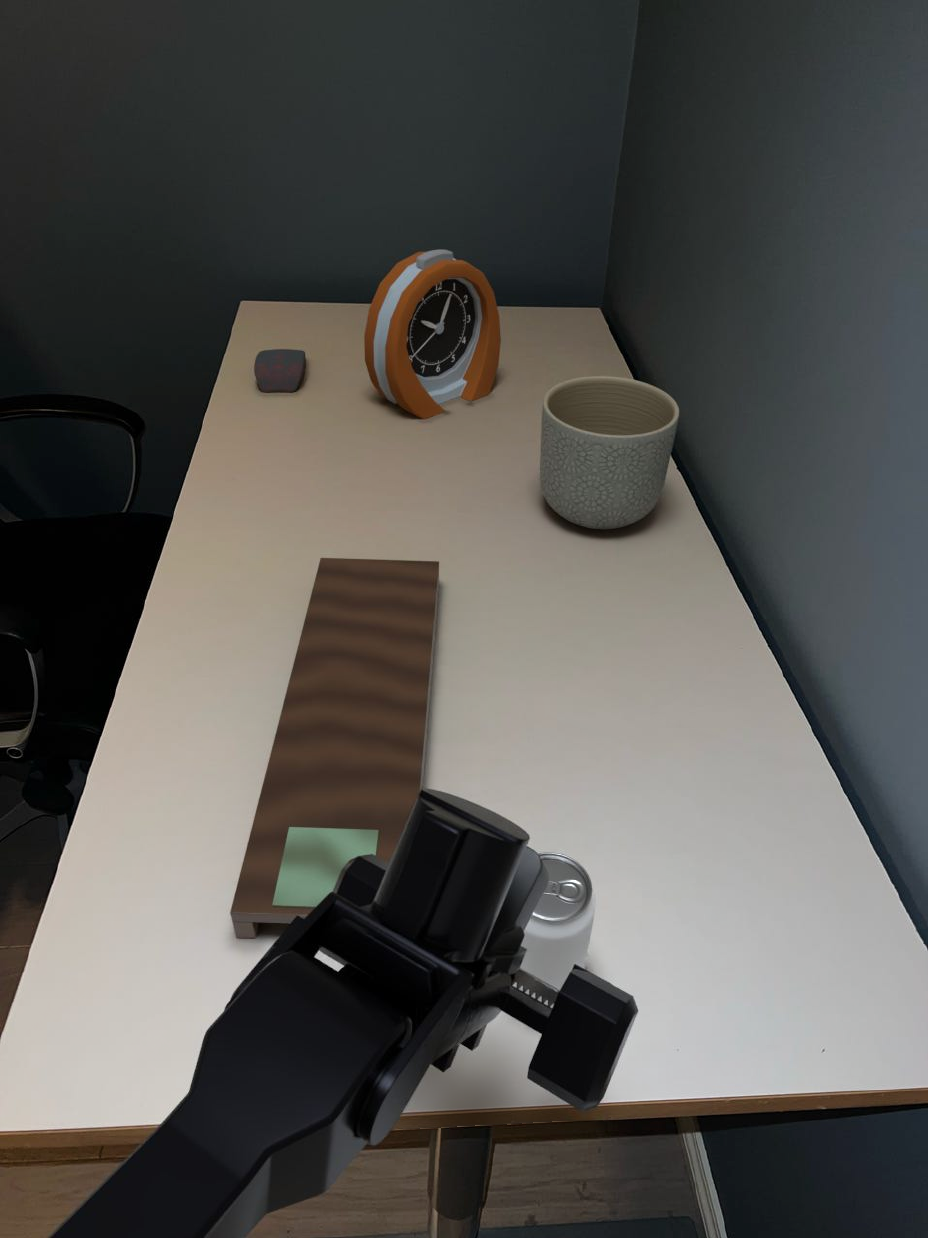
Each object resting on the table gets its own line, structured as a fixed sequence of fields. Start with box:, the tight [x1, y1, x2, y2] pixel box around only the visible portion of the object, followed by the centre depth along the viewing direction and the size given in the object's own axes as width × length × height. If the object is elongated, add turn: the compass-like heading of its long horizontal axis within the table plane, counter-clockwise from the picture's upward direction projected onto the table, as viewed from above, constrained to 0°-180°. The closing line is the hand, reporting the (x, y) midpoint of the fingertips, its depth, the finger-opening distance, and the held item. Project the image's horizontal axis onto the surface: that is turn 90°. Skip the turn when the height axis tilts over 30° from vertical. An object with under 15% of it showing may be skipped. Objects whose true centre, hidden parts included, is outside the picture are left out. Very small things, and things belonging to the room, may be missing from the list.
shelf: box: [229, 557, 440, 939], centre depth 91 cm, size 48×14×4 cm, turn 178°
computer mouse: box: [253, 348, 306, 393], centre depth 154 cm, size 8×14×4 cm, turn 3°
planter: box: [539, 375, 680, 530], centre depth 120 cm, size 17×17×15 cm
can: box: [513, 851, 596, 1008], centre depth 68 cm, size 6×6×12 cm
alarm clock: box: [363, 249, 502, 420], centre depth 143 cm, size 22×10×23 cm, turn 132°
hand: (513, 949), depth 61 cm, fingers open, 9 cm apart
